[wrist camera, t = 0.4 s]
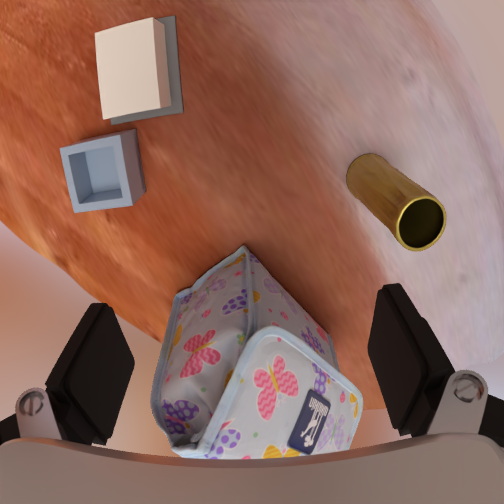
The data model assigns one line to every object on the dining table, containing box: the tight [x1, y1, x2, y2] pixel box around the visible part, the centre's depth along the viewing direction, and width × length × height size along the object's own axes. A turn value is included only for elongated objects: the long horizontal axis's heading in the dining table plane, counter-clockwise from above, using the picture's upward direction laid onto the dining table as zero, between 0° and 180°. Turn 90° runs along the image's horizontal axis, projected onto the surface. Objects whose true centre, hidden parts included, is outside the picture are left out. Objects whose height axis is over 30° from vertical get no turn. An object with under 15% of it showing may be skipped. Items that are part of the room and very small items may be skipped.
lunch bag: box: [150, 245, 363, 459], centre depth 35 cm, size 22×17×26 cm
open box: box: [60, 129, 146, 213], centre depth 33 cm, size 8×8×5 cm
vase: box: [347, 154, 446, 251], centre depth 30 cm, size 6×6×14 cm
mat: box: [110, 16, 184, 125], centre depth 30 cm, size 12×9×1 cm
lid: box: [95, 17, 171, 120], centre depth 28 cm, size 10×6×4 cm, turn 4°
